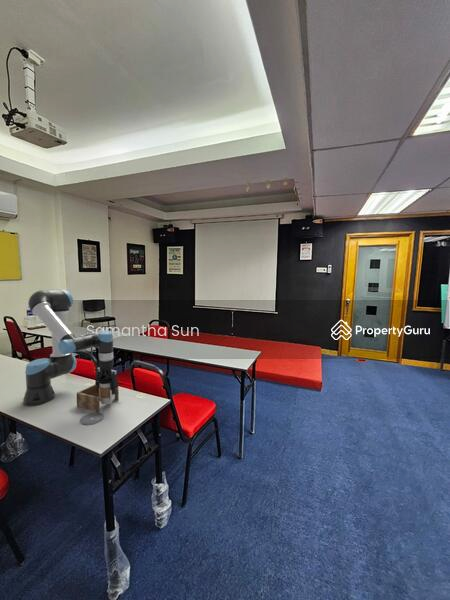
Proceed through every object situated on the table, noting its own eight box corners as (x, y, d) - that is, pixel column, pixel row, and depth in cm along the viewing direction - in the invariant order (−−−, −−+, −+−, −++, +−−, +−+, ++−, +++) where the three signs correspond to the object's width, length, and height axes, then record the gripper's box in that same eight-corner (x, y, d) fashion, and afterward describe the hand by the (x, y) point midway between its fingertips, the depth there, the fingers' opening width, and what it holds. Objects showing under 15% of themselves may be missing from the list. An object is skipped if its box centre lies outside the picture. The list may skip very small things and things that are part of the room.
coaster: (75, 421, 131) (75, 420, 131) (93, 411, 141) (93, 410, 141) (91, 426, 127) (91, 425, 127) (108, 415, 137) (108, 414, 137)
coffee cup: (108, 406, 142) (108, 380, 141) (95, 404, 144) (94, 378, 143) (118, 399, 151) (117, 374, 149) (105, 397, 152) (104, 373, 151)
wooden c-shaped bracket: (76, 406, 146) (76, 392, 145) (98, 395, 160) (98, 382, 159) (98, 412, 140) (97, 398, 139) (118, 400, 154) (118, 387, 153)
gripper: (87, 358, 145) (88, 397, 147) (115, 363, 138) (115, 404, 140) (98, 355, 152) (99, 392, 154) (125, 359, 145) (125, 398, 147)
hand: (107, 398), depth 147 cm, fingers closed on coffee cup, 7 cm apart
